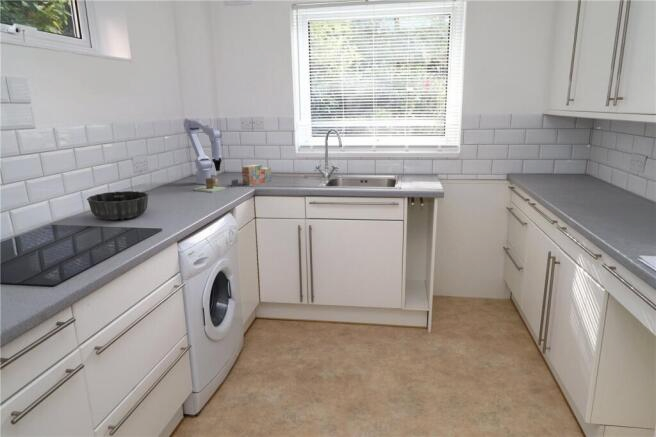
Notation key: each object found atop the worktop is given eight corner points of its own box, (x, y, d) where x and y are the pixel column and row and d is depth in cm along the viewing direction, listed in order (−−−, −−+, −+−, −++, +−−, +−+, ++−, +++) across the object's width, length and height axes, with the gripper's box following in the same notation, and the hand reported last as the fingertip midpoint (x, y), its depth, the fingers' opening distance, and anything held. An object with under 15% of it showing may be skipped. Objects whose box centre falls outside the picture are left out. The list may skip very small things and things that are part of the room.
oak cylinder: (209, 186, 282) (209, 179, 280) (214, 185, 285) (214, 178, 284) (214, 187, 280) (214, 179, 278) (219, 186, 283) (219, 178, 282)
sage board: (193, 190, 271) (193, 188, 271) (207, 186, 281) (206, 185, 281) (212, 192, 263) (212, 190, 263) (226, 189, 274) (225, 187, 273)
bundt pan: (134, 207, 226) (131, 188, 224) (161, 215, 210) (159, 195, 208) (80, 217, 207) (77, 196, 204) (105, 226, 190) (102, 204, 188)
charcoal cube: (232, 186, 284) (231, 180, 283) (231, 185, 287) (231, 179, 286) (238, 186, 285) (238, 180, 284) (237, 185, 288) (237, 179, 287)
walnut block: (206, 187, 273) (205, 178, 272) (212, 187, 274) (212, 177, 273) (206, 188, 270) (205, 179, 268) (213, 188, 271) (212, 178, 269)
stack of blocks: (264, 180, 307) (263, 162, 304) (271, 181, 304) (270, 163, 301) (242, 184, 290) (241, 166, 287) (249, 185, 287) (248, 167, 284)
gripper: (223, 149, 272) (224, 171, 276) (221, 147, 286) (223, 168, 289) (211, 150, 271) (213, 171, 274) (210, 148, 284) (212, 169, 287)
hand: (217, 170), depth 281 cm, fingers open, 7 cm apart
